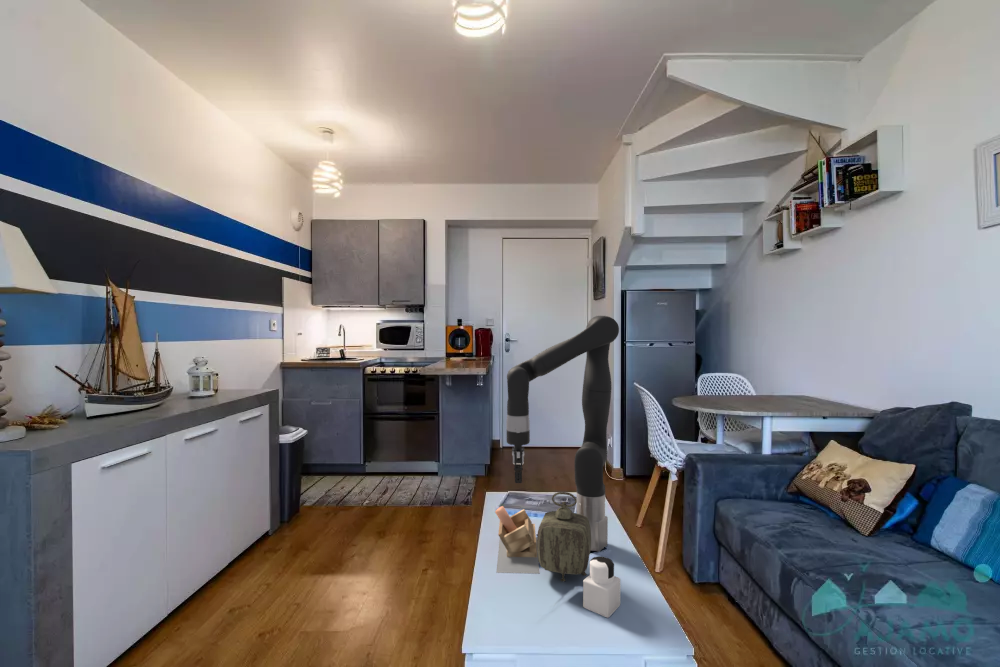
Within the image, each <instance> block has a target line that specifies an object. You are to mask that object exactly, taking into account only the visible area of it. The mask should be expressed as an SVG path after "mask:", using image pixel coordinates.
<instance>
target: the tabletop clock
mask: <svg viewBox="0 0 1000 667" xmlns="http://www.w3.org/2000/svg"><path fill="white" fill-rule="evenodd" d="M558 495H567V496H570V497H571V498H572V499H574V502H573V503H571V504H567V501H562V503H560V502H559V503H558V502H556V501H555V499H554V498H555V497H556V496H558ZM551 501H552V502H553V504H554V505H556V506H558V508H557V509H556V510H552V511H547V512H545V513H544V515H543V518H542V520H541V522H540V524H539V526H538V530H537V536H536V537H537V554H538V560H539V567H541V568H542V569H544V570H545V571H549V572H554V573H559V574H561V578H560V582H566V579H565V575H581V576H583V577H585V576H587V573H586V571H587V569H588V565H589V562H590V561H589V560H590V553H591V551H590V549H591V529H590V523H589V520H588V518H587V517H585V516H584V515H581V514H577V512H573V511H572V509H570V508H571V507H574V506H576V505H577V497H576V496H575V495H574V494H572V493H570V492H567V491H558V492H555V493H553V495H552V496H551Z"/></svg>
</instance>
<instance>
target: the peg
mask: <svg viewBox="0 0 1000 667" xmlns="http://www.w3.org/2000/svg"><path fill="white" fill-rule="evenodd" d="M494 513H495V514H496V516H497V518H498V519H499V522H500V521H501V523H502V524H503V526H504V527H505V529H506V531H507V532H508V533H510V532H512V531H514V530H515V529H517V527H516V526H515V524H514V523H513V521H512V519H511V518H510V515H509V513H508V510H506V508H505V507H504V506H503V505H502V506H499V507H498V508H497V509H496V510H495V511H494Z"/></svg>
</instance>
